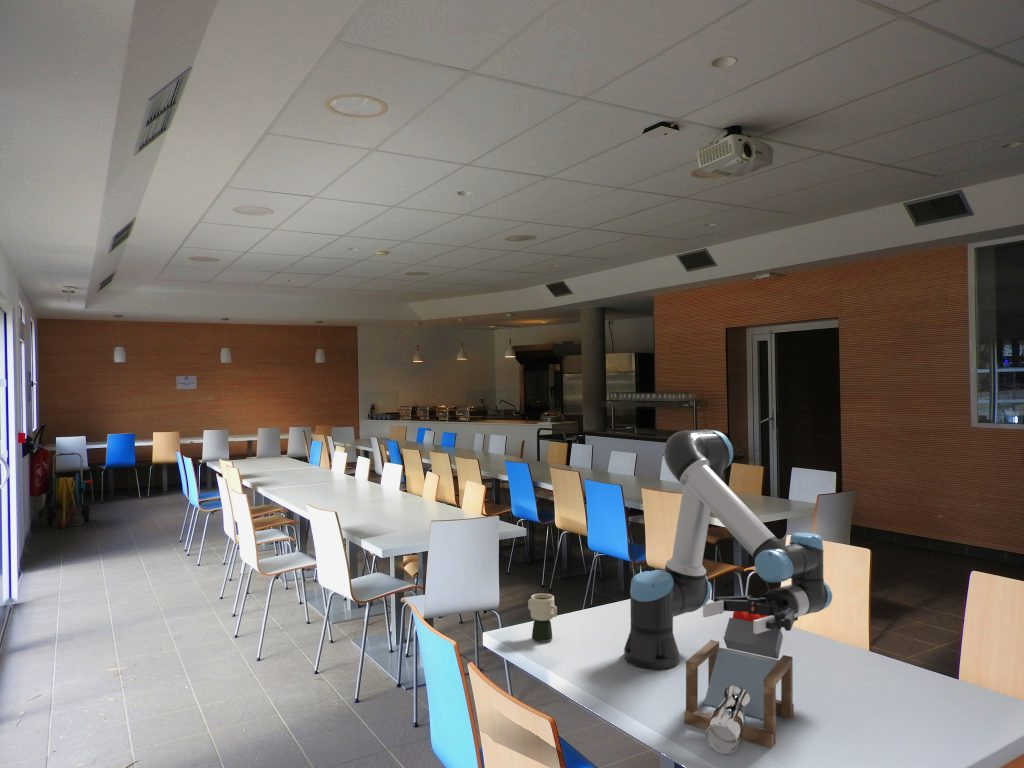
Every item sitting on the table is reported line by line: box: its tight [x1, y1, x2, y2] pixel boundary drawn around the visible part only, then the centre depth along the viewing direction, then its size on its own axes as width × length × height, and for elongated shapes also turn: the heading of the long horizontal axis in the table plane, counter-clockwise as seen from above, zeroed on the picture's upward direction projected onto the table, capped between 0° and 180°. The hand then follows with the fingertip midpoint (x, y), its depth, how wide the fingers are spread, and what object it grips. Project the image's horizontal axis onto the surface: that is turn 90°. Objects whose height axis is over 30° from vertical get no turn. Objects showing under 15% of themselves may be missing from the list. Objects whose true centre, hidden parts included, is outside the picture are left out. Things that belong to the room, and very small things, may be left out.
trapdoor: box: [703, 617, 784, 722], centre depth 161 cm, size 14×22×4 cm
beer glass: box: [704, 685, 751, 756], centre depth 147 cm, size 7×7×15 cm
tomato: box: [732, 605, 767, 622], centre depth 213 cm, size 11×11×9 cm
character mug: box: [527, 593, 558, 642], centre depth 207 cm, size 11×7×13 cm, turn 48°
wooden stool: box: [683, 639, 795, 749], centre depth 157 cm, size 19×19×14 cm
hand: (728, 618), depth 154 cm, fingers open, 13 cm apart
